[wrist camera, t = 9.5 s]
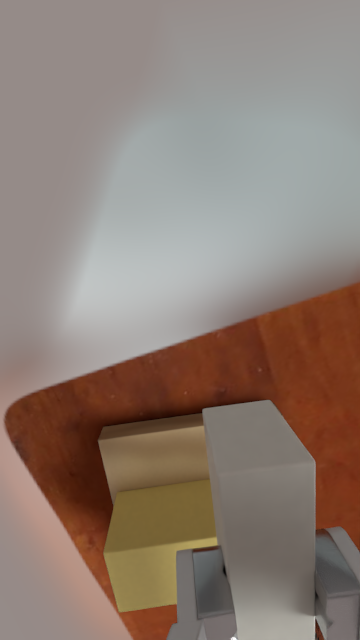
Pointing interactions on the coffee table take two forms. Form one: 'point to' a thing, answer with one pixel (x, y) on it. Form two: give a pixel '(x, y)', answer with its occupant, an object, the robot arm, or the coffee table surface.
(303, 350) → the coffee table surface
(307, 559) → the knife
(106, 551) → the butter
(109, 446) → the butter board
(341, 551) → the robot arm
